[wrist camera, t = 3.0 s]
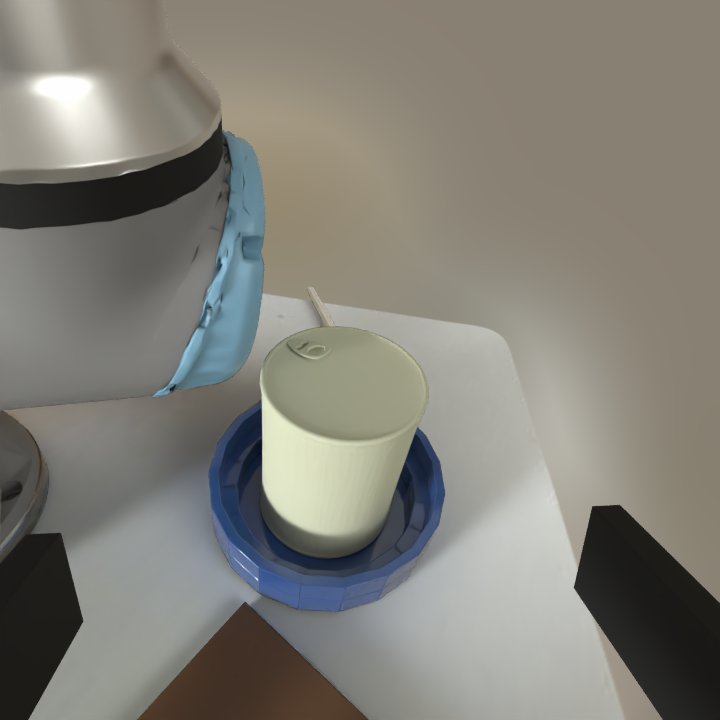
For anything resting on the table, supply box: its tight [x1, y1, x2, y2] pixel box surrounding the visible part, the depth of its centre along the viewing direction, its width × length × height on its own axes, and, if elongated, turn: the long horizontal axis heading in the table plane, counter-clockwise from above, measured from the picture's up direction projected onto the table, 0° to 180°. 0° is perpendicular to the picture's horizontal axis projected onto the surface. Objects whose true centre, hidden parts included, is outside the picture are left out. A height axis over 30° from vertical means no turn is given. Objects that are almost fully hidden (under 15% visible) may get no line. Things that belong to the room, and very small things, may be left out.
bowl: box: [209, 400, 445, 612], centre depth 30 cm, size 15×15×4 cm
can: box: [259, 326, 429, 559], centre depth 27 cm, size 9×9×12 cm
